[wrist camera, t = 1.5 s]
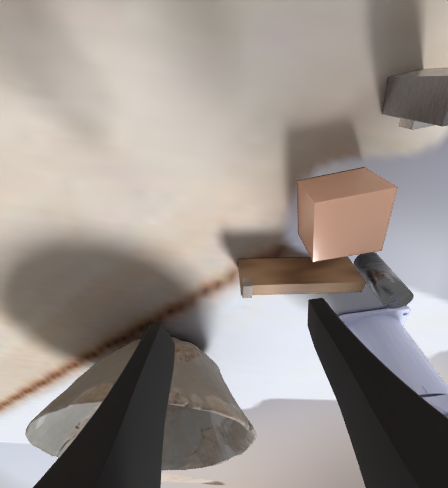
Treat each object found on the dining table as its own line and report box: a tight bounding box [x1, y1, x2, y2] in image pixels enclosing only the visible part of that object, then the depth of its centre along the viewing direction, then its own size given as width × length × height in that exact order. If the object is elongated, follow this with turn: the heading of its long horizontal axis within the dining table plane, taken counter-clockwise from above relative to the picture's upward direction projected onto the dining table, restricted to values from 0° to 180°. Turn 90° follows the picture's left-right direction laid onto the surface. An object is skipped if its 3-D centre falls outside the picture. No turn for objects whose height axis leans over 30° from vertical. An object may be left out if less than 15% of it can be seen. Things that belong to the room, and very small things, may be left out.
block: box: [297, 167, 397, 262], centre depth 17 cm, size 5×5×4 cm
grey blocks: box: [354, 68, 448, 309], centre depth 16 cm, size 16×2×5 cm, turn 11°
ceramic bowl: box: [26, 337, 257, 470], centre depth 28 cm, size 22×23×10 cm
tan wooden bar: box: [238, 256, 366, 298], centre depth 21 cm, size 10×1×4 cm, turn 91°
